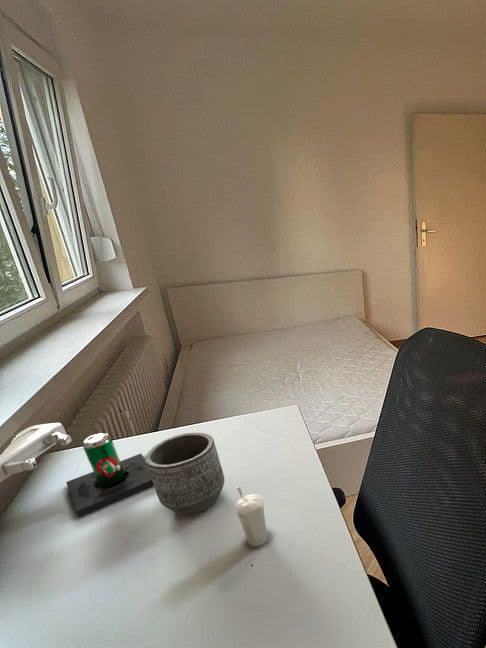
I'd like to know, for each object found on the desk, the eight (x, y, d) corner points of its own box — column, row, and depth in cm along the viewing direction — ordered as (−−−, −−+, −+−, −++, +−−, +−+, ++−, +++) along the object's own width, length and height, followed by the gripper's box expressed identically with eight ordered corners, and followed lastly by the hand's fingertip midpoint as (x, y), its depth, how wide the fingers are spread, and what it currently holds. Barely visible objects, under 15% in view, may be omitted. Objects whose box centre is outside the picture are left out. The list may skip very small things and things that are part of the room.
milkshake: (261, 525, 82) (250, 481, 78) (276, 539, 79) (265, 493, 74) (238, 538, 79) (225, 493, 75) (252, 553, 76) (239, 507, 72)
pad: (79, 517, 87) (76, 511, 87) (68, 487, 97) (66, 481, 97) (159, 483, 96) (157, 477, 96) (142, 458, 106) (141, 453, 106)
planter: (196, 528, 82) (178, 472, 77) (149, 515, 87) (129, 460, 82) (241, 489, 92) (227, 436, 87) (197, 479, 97) (181, 428, 92)
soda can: (108, 479, 99) (89, 433, 94) (131, 476, 99) (114, 430, 94) (96, 493, 94) (75, 445, 90) (120, 490, 95) (101, 443, 90)
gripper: (36, 440, 105) (91, 438, 104) (-49, 495, 86) (17, 493, 85) (25, 417, 103) (82, 415, 102) (-64, 468, 84) (3, 466, 83)
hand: (52, 451), depth 93 cm, fingers open, 8 cm apart
